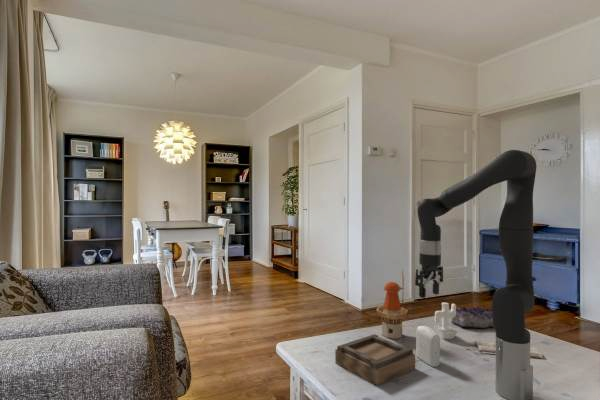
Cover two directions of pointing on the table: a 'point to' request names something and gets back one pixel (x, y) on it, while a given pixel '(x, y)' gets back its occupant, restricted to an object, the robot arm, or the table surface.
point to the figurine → (445, 321)
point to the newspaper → (492, 348)
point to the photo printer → (428, 346)
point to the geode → (473, 318)
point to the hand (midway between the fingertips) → (429, 295)
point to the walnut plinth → (376, 355)
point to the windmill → (392, 311)
